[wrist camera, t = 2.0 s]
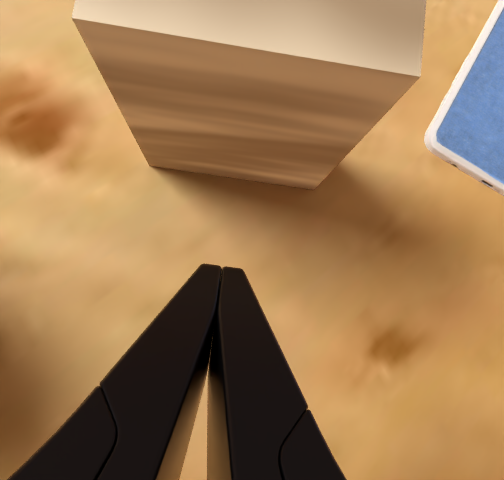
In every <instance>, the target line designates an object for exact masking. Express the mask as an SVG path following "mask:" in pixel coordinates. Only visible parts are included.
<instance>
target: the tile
mask: <svg viewBox="0 0 504 480" xmlns="http://www.w3.org/2000/svg"><path fill="white" fill-rule="evenodd" d="M425 10H426V0H75V4H74V9H73V14H72V19H73V21H74V23H75V25H76V27H77V29H78V31H79V33H80V35H81V36H82V38H83V40H84V42H85V44H86V46H87V48H88V50H89V52H90V54H91V55H92V57H93V59H94V61H95V63H96V65H97V67H98V69H99V71H100V73H101V74H102V76H103V78H104V80H105V82H106V84H107V86H108V88H109V90H110V92H111V94H112V95H113V97H114V99H115V101H116V103H117V105H118V107H119V109H120V111H121V113H122V114H123V116H124V118H125V120H126V122H127V124H128V126H129V128H130V130H131V132H132V134H133V135H134V137H135V139H136V141H137V143H138V145H139V147H140V149H141V151H142V153H143V154H144V156H145V158H146V160H147V162H148V164H149V166H155V167H162V168H169V169H176V170H182V171H189V172H196V173H203V174H210V175H216V176H223V177H230V178H237V179H244V180H250V181H257V182H264V183H271V184H277V185H284V186H291V187H298V188H305V189H311V190H314V189H315V188H316V187H317V186H318V185H319V184H320V183H321V182H322V181H323V180H324V179H325V178H326V177H327V176H328V175H329V173H330V172H331V171H332V170H333V169H334V168H335V167H336V166H337V165H338V164H339V163H340V162H341V161H342V160H343V159H344V158H345V156H346V155H347V154H348V153H349V152H350V151H351V150H352V149H353V148H354V147H355V146H356V145H357V144H358V143H359V142H360V141H361V139H362V138H363V137H364V136H365V135H366V134H367V133H368V132H369V131H370V130H371V129H372V128H373V127H374V126H375V125H376V124H377V122H378V121H379V120H380V119H381V118H382V117H383V116H384V115H385V114H386V113H387V112H388V111H389V110H390V109H391V108H392V107H393V105H394V104H395V103H396V102H397V101H398V100H399V99H400V98H401V97H402V96H403V95H404V94H405V93H406V92H407V91H408V90H409V88H410V87H411V86H412V85H413V84H414V83H415V82H416V81H417V80H418V79H419V78H420V77H421V63H422V50H423V37H424V23H425Z"/></svg>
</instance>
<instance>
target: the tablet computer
mask: <svg viewBox="0 0 504 480" xmlns="http://www.w3.org/2000/svg"><path fill="white" fill-rule="evenodd" d="M424 142H425V145H426V147H427V148H428V149H429V151H430V152H432V153H433V154H434V155H436V156H438V157H439V158H441V159H443V160H444V161H446V162H448V163H450V164H453V165H455V166H456V167H457V168H458V169H460V170H461V171H463V172H464V173H466V174H468V175H470V176H471V177H473V178H474V179H476V180H478V181H479V182H482V183H484V184H485V185H487V186H488V187H490V188H491V189H493V190H495V191H496V192H498V193H500V194H501V195H503V196H504V0H498V2H497V4H496V6H495V8H494V9H493V11H492V13H491V15H490V17H489V18H488V20H487V22H486V24H485V26H484V28H483V29H482V31H481V33H480V35H479V37H478V39H477V41H476V42H475V44H474V46H473V48H472V50H471V51H470V53H469V55H468V56H467V58H466V59H465V61H464V62H463V64H462V66H461V68H460V71H459V72H458V74H457V75H456V77H455V79H454V81H453V82H452V85H451V88H450V89H449V91H448V93H447V94H446V95H445V97H444V99H443V101H442V103H441V104H440V107H439V109H438V111H437V113H436V115H435V117H434V118H433V120H432V122H431V124H430V125H429V127H428V129H427V131H426V133H425V138H424Z"/></svg>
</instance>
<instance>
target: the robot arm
mask: <svg viewBox="0 0 504 480" xmlns="http://www.w3.org/2000/svg"><path fill="white" fill-rule="evenodd" d="M221 272H222V273H221ZM211 345H212V346H211ZM210 352H211V353H210ZM209 359H210V361H209ZM208 365H209V370H208ZM207 371H208V417H207V480H346V478H345V476H344V474H343V473H342V471H341V469H340V468H339V466H338V464H337V462H336V461H335V459H334V457H333V455H332V453H331V451H330V449H329V447H328V445H327V443H326V441H325V439H324V437H323V436H322V434H321V432H320V430H319V428H318V425H317V423H316V421H315V419H314V417H313V415H312V413H311V411H310V410H307V409H308V405H307V403H306V401H305V399H304V396H303V394H302V392H301V390H300V388H299V386H298V384H297V382H296V380H295V378H294V375H293V373H292V371H291V369H290V367H289V365H288V363H287V361H286V359H285V356H284V354H283V352H282V350H281V348H280V346H279V344H278V342H277V340H276V338H275V335H274V333H273V331H272V329H271V327H270V325H269V323H268V321H267V319H266V317H265V314H264V312H263V310H262V308H261V306H260V304H259V302H258V300H257V298H256V296H255V293H254V291H253V289H252V287H251V285H250V283H249V281H248V279H247V277H246V275H245V272H244V271H243V270H242V269H240V268H233V267H223V269H222V268H221V267H220V266H218V265H211V264H202V265H200V266H199V267H198V269H197V270H196V271H195V272H194V273H193V274H192V276H191V277H190V278H189V279H188V280H187V281H186V283H185V284H184V285H183V286H182V287H181V288H180V290H179V291H178V292H177V293H176V294H175V295H174V297H173V298H172V299H171V300H170V301H169V302H168V304H167V305H166V306H165V307H164V308H163V309H162V311H161V312H160V313H159V314H158V315H157V316H156V318H155V319H154V320H153V321H152V322H151V324H150V325H149V326H148V327H147V328H146V329H145V331H144V332H143V333H142V334H141V335H140V336H139V338H138V339H137V340H136V341H135V342H134V343H133V345H132V346H131V347H130V348H129V349H128V350H127V352H126V353H125V354H124V355H123V356H122V357H121V359H120V360H119V361H118V362H117V363H116V364H115V366H114V367H113V368H112V369H111V370H110V371H109V373H108V374H107V375H106V376H105V377H104V378H103V380H102V381H101V382H100V386H97V387H96V388H95V389H94V390H93V391H92V392H91V393H90V395H89V396H88V397H87V398H86V399H85V400H84V402H83V403H82V404H81V405H80V406H79V407H78V408H77V409H76V411H75V412H74V413H73V414H72V415H71V416H70V417H69V418H68V419H67V420H66V422H65V423H64V424H63V425H62V426H61V427H60V428H59V429H58V430H57V431H56V432H55V433H54V434H53V435H52V436H51V437H50V438H49V439H48V440H47V441H46V442H45V443H44V444H43V445H42V446H41V447H40V448H39V449H38V450H37V451H36V452H35V453H34V454H33V455H32V456H31V457H30V458H29V459H28V460H27V461H26V462H25V463H24V464H23V465H22V466H21V467H20V468H19V469H18V470H17V471H16V472H15V473H14V474H13V475H12V476H10V477H9V478H8V479H7V480H179V478H180V474H181V471H182V467H183V463H184V459H185V456H186V452H187V448H188V444H189V440H190V437H191V433H192V429H193V425H194V422H195V418H196V414H197V410H198V407H199V403H200V399H201V395H202V392H203V388H204V384H205V380H206V376H207Z"/></svg>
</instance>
